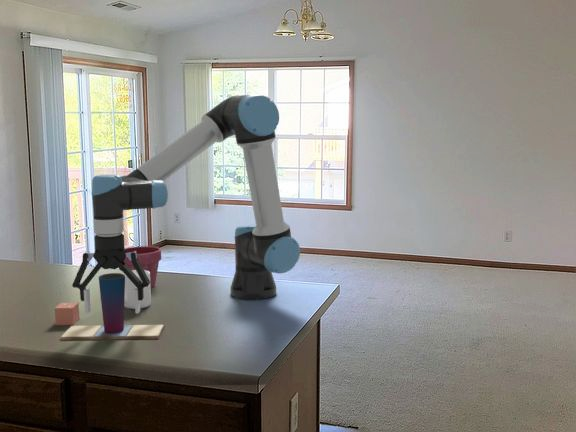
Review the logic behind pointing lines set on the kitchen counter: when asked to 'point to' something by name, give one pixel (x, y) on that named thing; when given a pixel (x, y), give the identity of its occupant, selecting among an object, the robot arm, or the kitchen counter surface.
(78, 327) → the multicoloured flat piece
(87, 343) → the kitchen counter surface
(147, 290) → the mug
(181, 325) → the kitchen counter surface
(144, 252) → the plant pot
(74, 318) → the die
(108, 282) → the cup
